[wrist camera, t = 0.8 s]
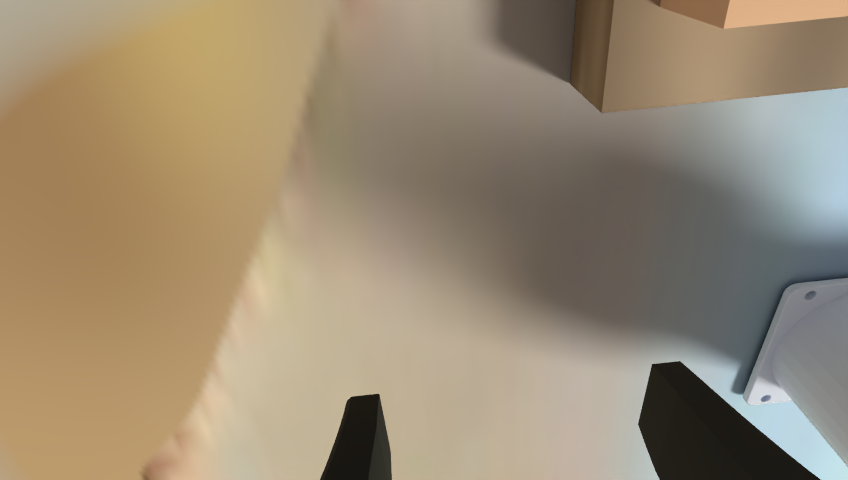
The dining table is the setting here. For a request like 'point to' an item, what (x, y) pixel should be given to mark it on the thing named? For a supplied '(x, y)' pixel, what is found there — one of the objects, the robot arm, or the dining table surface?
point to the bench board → (697, 57)
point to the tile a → (756, 11)
